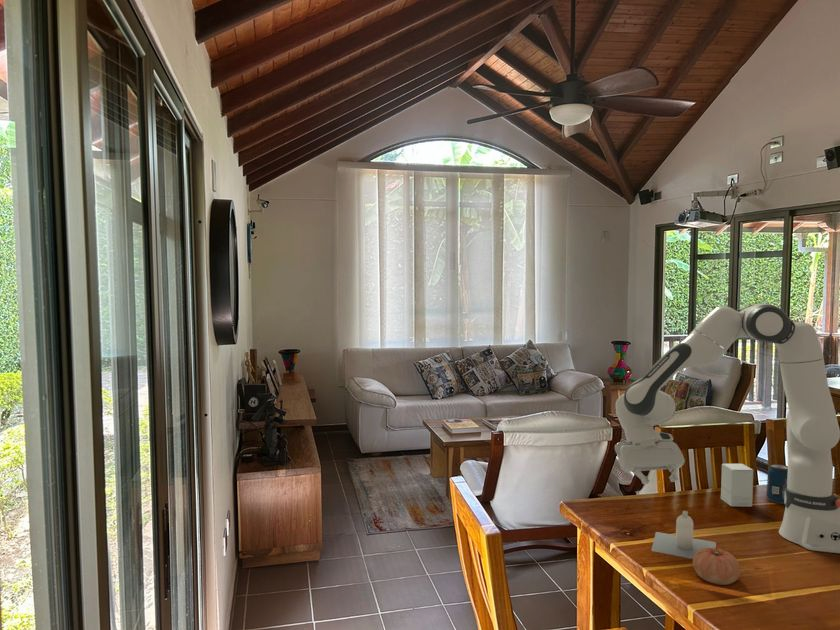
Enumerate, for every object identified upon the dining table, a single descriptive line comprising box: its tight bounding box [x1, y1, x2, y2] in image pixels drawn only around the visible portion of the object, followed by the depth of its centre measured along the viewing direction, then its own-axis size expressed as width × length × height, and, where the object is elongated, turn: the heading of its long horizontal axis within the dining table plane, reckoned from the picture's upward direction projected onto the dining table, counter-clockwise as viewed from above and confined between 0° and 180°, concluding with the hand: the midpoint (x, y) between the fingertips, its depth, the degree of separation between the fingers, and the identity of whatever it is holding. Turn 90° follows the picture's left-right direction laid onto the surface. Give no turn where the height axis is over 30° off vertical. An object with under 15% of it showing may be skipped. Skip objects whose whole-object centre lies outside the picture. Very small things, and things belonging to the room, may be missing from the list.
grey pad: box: [650, 531, 717, 560], centre depth 169 cm, size 16×14×1 cm
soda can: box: [766, 463, 788, 504], centre depth 206 cm, size 7×7×12 cm
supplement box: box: [720, 463, 754, 508], centre depth 204 cm, size 7×7×13 cm
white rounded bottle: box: [675, 510, 694, 550], centre depth 168 cm, size 4×4×10 cm
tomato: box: [692, 547, 741, 586], centre depth 151 cm, size 11×11×8 cm
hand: (660, 482), depth 179 cm, fingers open, 8 cm apart
